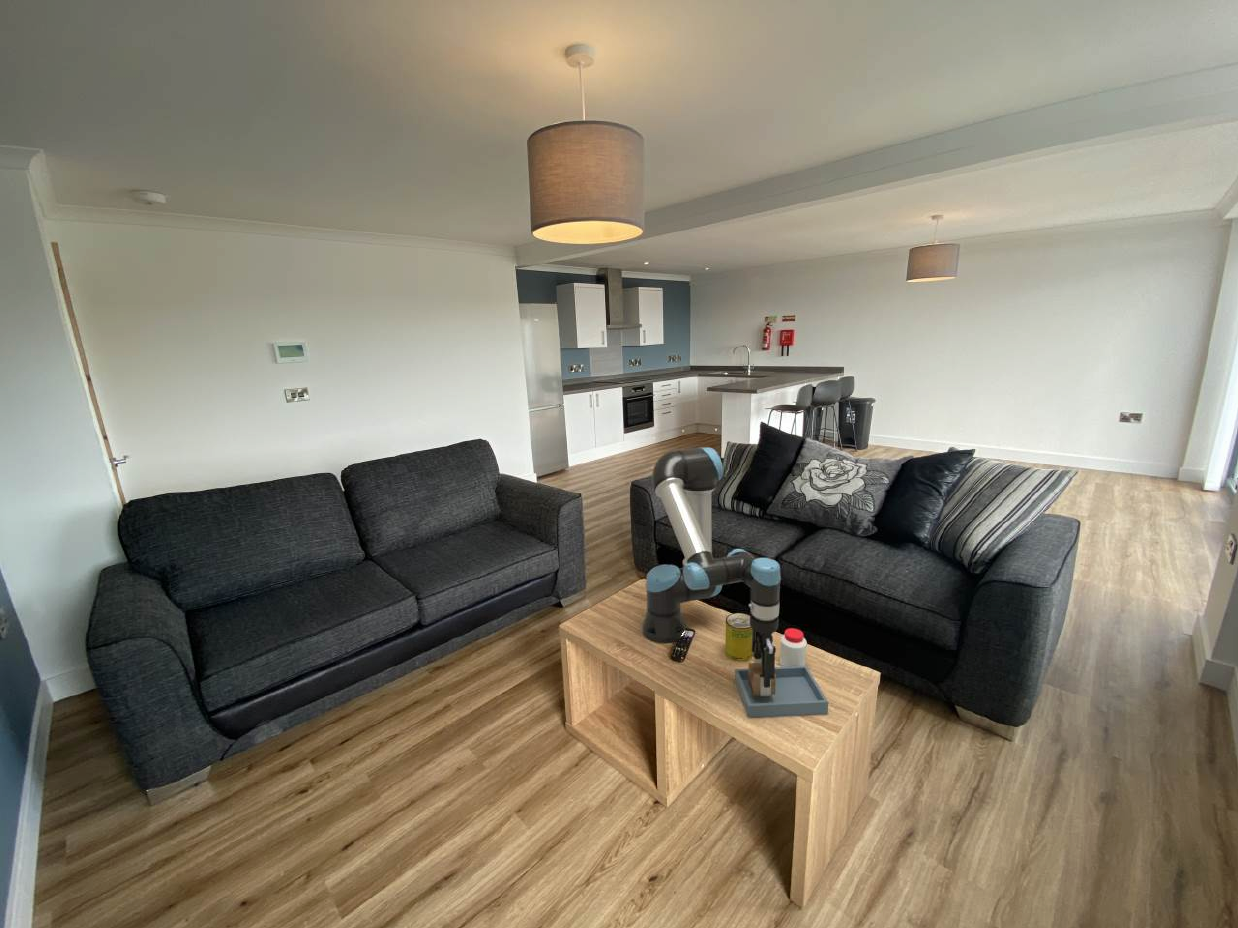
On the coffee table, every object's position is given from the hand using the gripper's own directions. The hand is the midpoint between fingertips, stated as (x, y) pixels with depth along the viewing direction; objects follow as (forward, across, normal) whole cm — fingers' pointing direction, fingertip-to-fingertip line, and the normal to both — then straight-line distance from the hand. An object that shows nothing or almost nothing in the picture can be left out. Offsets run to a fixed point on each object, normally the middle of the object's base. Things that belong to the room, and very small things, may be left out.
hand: (761, 686), depth 145 cm
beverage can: (+4, -21, -1) cm, 21 cm away
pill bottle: (+4, -14, +14) cm, 20 cm away
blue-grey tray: (+3, 0, +5) cm, 6 cm away
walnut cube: (0, 0, 0) cm, 0 cm away
